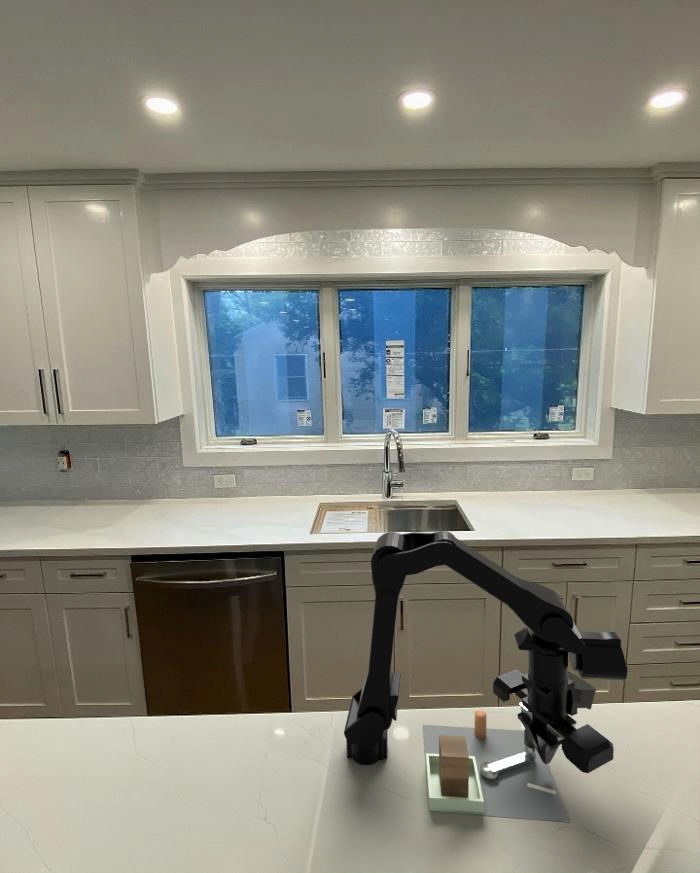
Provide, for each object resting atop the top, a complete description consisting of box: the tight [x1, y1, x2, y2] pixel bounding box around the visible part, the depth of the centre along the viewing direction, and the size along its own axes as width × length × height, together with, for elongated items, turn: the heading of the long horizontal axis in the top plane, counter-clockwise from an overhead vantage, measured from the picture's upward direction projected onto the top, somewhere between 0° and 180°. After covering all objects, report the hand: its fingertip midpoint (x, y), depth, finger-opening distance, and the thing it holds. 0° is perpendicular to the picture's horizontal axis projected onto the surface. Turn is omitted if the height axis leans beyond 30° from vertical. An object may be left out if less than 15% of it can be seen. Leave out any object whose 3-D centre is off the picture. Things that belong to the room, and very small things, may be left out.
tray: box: [425, 753, 484, 816], centre depth 70 cm, size 8×8×2 cm
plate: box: [422, 709, 571, 824], centre depth 73 cm, size 20×16×5 cm
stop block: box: [439, 735, 469, 798], centre depth 69 cm, size 4×4×7 cm
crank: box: [480, 728, 536, 780], centre depth 73 cm, size 10×3×5 cm, turn 109°
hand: (546, 762), depth 72 cm, fingers closed
